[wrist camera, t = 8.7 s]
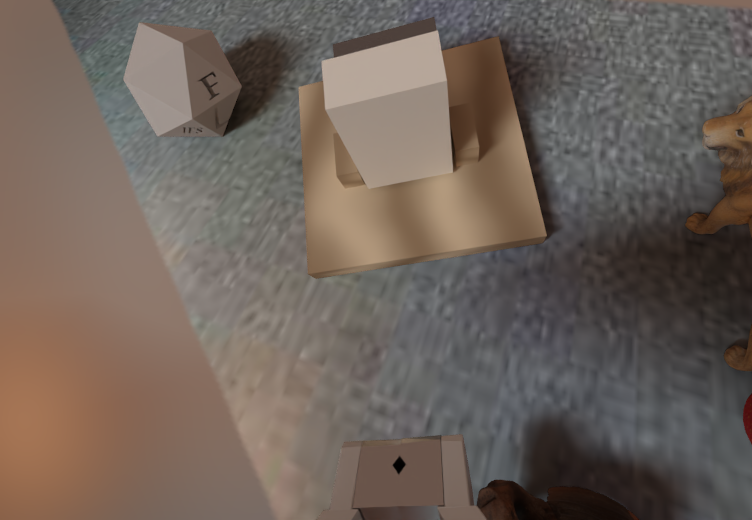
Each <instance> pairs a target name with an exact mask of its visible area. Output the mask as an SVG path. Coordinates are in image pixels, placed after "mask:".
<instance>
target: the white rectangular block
mask: <svg viewBox="0 0 752 520" xmlns="http://www.w3.org/2000/svg"><path fill="white" fill-rule="evenodd" d="M322 72H323V86H324V99H325V110H326V112H327V114H328V116H329V118H330V119H331V121H332V123H333V125H334V127H335V129H336V130H337V132H338V134H339V136H340V138H341V140H342V141H343V143H344V145H345V147H346V149H347V151H348V152H349V154H350V156H351V158H352V160H353V162H354V163H355V165H356V167H357V169H358V171H359V173H360V174H361V176H362V178H363V180H364V182H365V184H366V185H367V187H368V189H371V188H376V187H381V186H386V185H391V184H396V183H401V182H407V181H412V180H417V179H422V178H427V177H432V176H437V175H442V174H447V173H452V172H453V164H452V149H451V134H450V119H449V104H448V89H447V78H446V73H445V67H444V62H443V57H442V51H441V46H440V40H439V35H438V30H437V31H434V32H430V33H426V34H422V35H418V36H415V37H411V38H407V39H403V40H400V41H396V42H392V43H388V44H384V45H381V46H377V47H373V48H369V49H366V50H362V51H358V52H354V53H351V54H347V55H343V56H339V57H335V58H332V59H328V60H324V61H322Z"/></svg>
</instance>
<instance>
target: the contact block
mask: <svg viewBox="0 0 752 520" xmlns="http://www.w3.org/2000/svg"><path fill="white" fill-rule="evenodd" d="M434 31H437V30H436V25H435V19H434V17H433V18H429V19H425V20H422V21H418V22H414V23H410V24H407V25H403V26H399V27H396V28H392V29H388V30H385V31H381V32H377V33H374V34H370V35H366V36H363V37H359V38H355V39H352V40H348V41H344V42H341V43H337V44H333V50H334V58H335V57H339V56H343V55H347V54H351V53H354V52H358V51H362V50H366V49H369V48H373V47H377V46H381V45H384V44H388V43H392V42H396V41H400V40H403V39H407V38H411V37H415V36H418V35H422V34H426V33H430V32H434Z"/></svg>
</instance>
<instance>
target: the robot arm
mask: <svg viewBox="0 0 752 520" xmlns="http://www.w3.org/2000/svg"><path fill="white" fill-rule="evenodd" d="M316 520H487V519H486V517H485V516H484V515H483V513H482V512H481V511H480V509H479V508H478V506H474V500H473V492H472V484H471V478H470V472H469V466H468V460H467V455H466V449H465V444H464V438H463V435H462V434H459V435H447V436H441V435H438V436H425V437H413V438H402V439H393V440H372V441H351V442H344V444H343V446H342V448H341V452H340V457H339V462H338V467H337V473H336V478H335V483H334V488H333V493H332V499H331V504H330V509H329V510H323V512H322V513H321V514H320V515H319V517H318V518H317V519H316Z"/></svg>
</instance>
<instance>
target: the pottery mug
mask: <svg viewBox="0 0 752 520" xmlns="http://www.w3.org/2000/svg"><path fill="white" fill-rule="evenodd" d="M548 495H549V496H548V497H547V502H545V501H544V500H542V499H539V498H536V497H534V496H532V495H531V494H529V493H528V492H527V491H525V490H524V489H523V488H522V487H521V486H520V485H518V484H517V483H515V482H513V481H505V480H494V481H491V482H490V483H489V484H488V486H487V487H485V488H482V489H481V490H480V491H479V495H478V501H477V506H478V508H479V509H480V511H481V512H482V513H483V515H484V516H485V517H486V519H487V520H639V519H638V518H637V517H636V516H635V515H634V514H633V513H632V512H630V511H629V510H627V509H626V508H625V507H624V506H623V505H621V504H620V503H618V502H616V501H614V500H612V499H611V498H609V497H607V496H605V495H603V494H600V493H597V492H594V491H591V490H588V489H584V488H580V487H552V488H549V489H548Z"/></svg>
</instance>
